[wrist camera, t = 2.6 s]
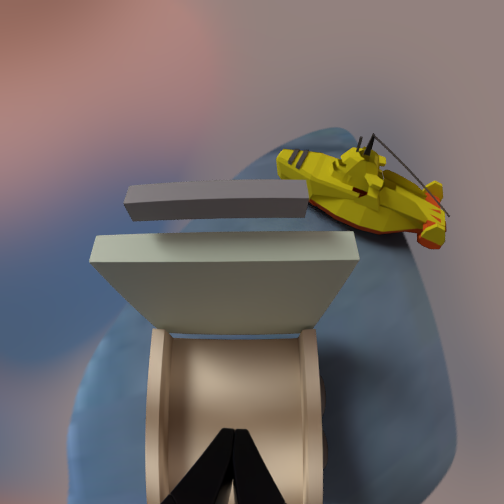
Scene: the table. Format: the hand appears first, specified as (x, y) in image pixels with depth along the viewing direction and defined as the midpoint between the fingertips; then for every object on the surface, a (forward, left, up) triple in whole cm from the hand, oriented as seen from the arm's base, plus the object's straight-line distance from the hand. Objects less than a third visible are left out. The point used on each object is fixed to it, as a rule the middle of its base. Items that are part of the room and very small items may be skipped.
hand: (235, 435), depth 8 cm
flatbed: (0, +1, -12) cm, 12 cm away
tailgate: (+7, +1, -8) cm, 11 cm away
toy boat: (+19, -11, -12) cm, 25 cm away
